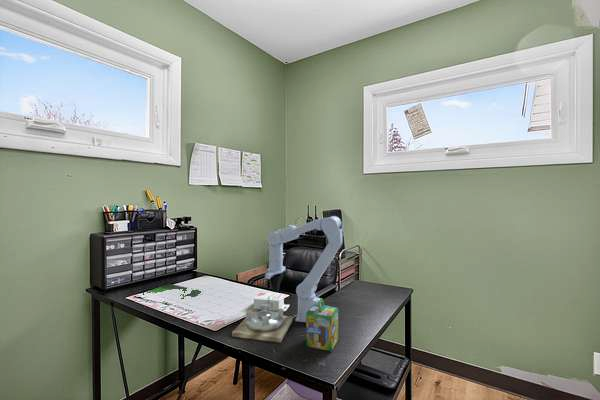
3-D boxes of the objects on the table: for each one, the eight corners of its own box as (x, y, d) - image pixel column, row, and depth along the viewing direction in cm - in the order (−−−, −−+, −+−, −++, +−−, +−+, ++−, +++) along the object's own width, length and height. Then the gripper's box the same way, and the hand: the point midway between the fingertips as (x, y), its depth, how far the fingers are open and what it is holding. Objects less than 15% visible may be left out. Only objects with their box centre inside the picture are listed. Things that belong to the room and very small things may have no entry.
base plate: (292, 320, 115) (293, 316, 115) (280, 342, 97) (280, 337, 97) (251, 315, 119) (251, 312, 119) (232, 336, 101) (232, 331, 101)
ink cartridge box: (260, 292, 134) (290, 294, 131) (260, 302, 134) (290, 305, 131) (253, 298, 125) (285, 301, 122) (253, 309, 125) (285, 312, 122)
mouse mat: (207, 292, 148) (207, 290, 148) (174, 307, 128) (174, 304, 128) (168, 285, 159) (168, 283, 159) (132, 297, 139) (132, 295, 139)
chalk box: (331, 353, 91) (332, 307, 91) (305, 346, 95) (305, 302, 95) (339, 339, 100) (339, 297, 100) (314, 334, 103) (315, 294, 103)
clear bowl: (265, 312, 118) (265, 300, 118) (290, 322, 109) (290, 309, 109) (238, 323, 107) (238, 310, 107) (263, 335, 98) (263, 321, 98)
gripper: (275, 255, 130) (275, 285, 130) (258, 262, 116) (258, 295, 116) (289, 257, 127) (289, 287, 127) (273, 264, 113) (273, 297, 114)
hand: (275, 291), depth 121 cm, fingers closed
